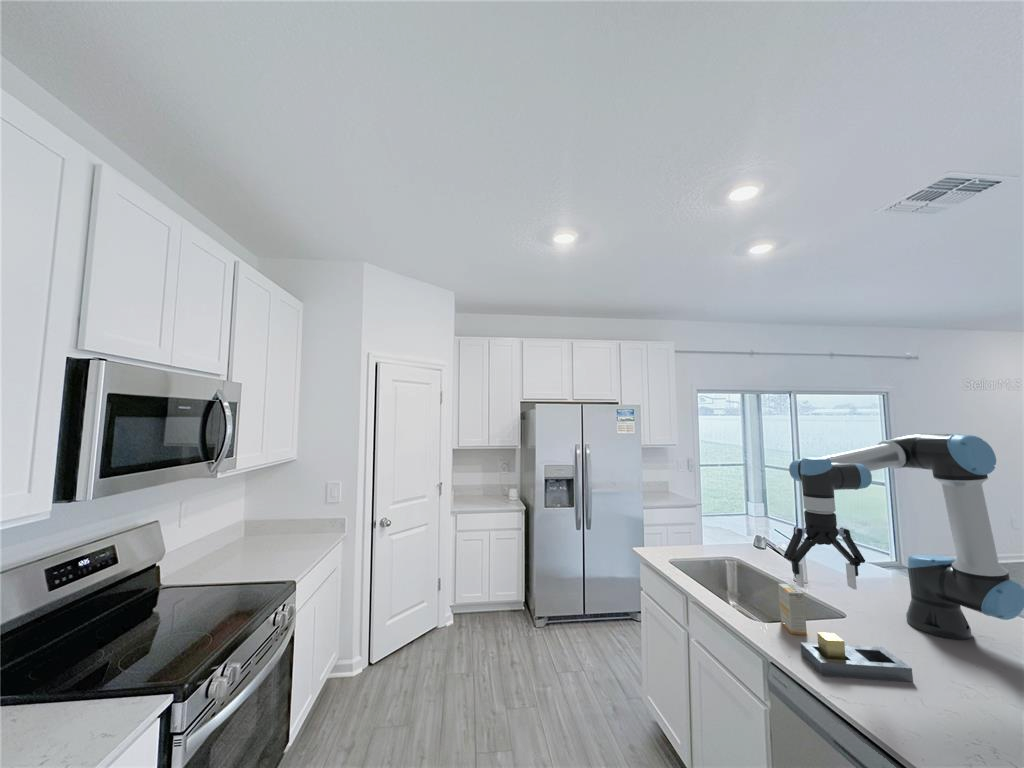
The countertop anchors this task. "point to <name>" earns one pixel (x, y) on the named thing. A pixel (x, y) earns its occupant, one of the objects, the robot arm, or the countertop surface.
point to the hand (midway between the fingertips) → (826, 586)
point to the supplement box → (792, 609)
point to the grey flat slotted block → (859, 663)
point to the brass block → (831, 646)
